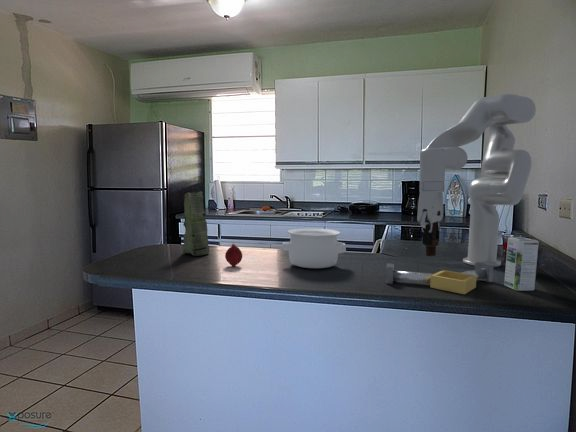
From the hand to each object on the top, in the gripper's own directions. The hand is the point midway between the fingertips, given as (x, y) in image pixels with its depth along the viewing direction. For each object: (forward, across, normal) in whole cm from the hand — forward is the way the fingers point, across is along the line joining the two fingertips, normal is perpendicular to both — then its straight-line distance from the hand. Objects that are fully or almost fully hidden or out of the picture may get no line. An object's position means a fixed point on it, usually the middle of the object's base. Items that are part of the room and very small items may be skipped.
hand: (430, 242), depth 128 cm
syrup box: (+11, -1, +26) cm, 28 cm away
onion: (+8, +40, -52) cm, 66 cm away
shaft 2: (+10, +2, +13) cm, 17 cm away
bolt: (+5, 0, 0) cm, 5 cm away
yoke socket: (+10, +12, +12) cm, 19 cm away
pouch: (+8, +37, -79) cm, 88 cm away
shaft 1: (+10, +16, +1) cm, 19 cm away
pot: (+9, +20, -34) cm, 40 cm away
